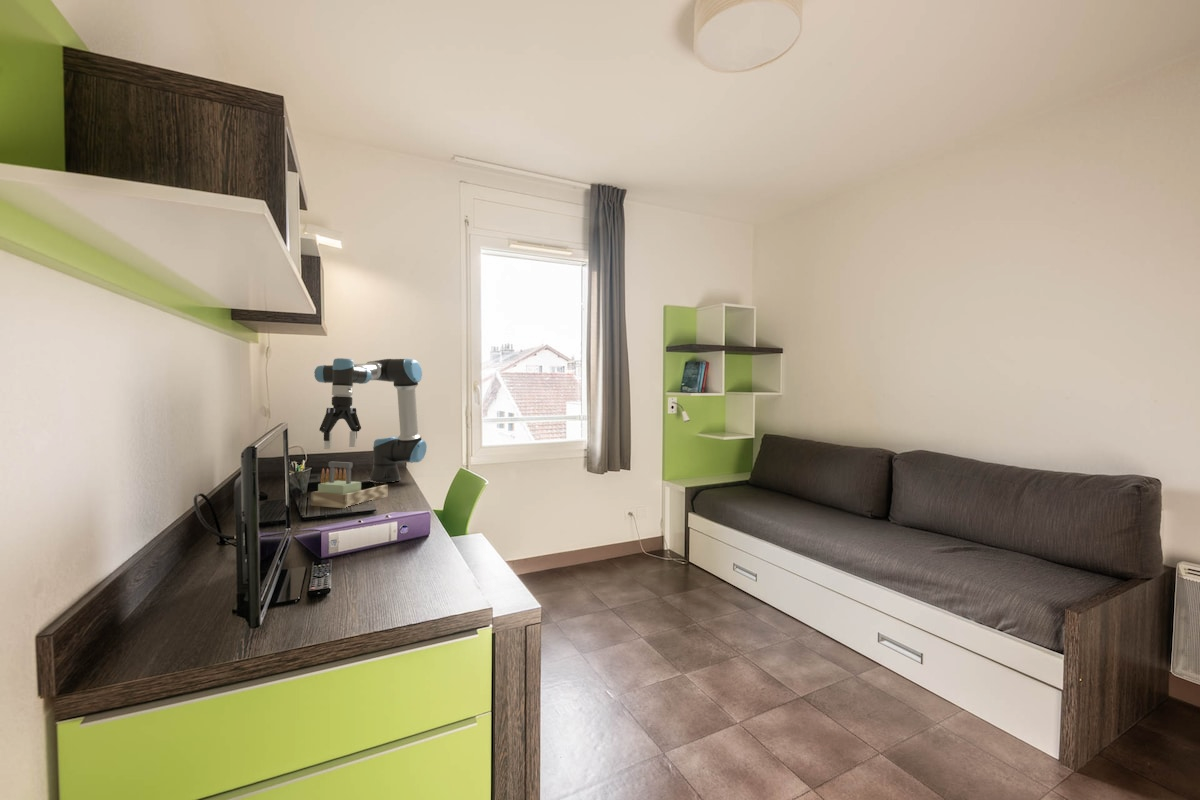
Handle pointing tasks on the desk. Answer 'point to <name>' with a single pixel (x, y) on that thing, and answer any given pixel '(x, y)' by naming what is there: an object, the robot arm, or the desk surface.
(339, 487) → the green panel with handle
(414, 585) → the desk surface
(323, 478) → the ammunition clip
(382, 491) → the bay
